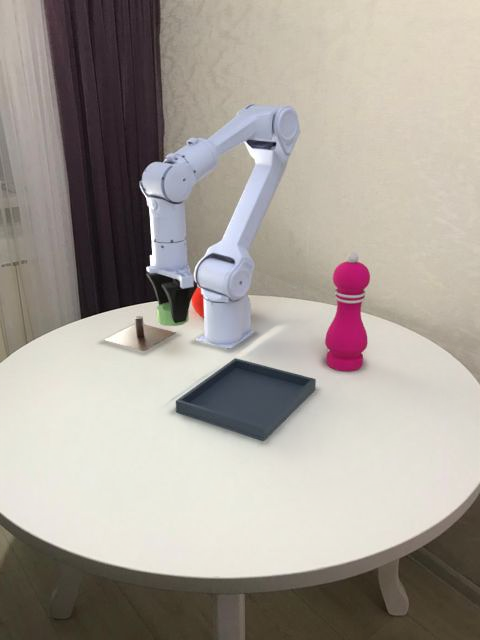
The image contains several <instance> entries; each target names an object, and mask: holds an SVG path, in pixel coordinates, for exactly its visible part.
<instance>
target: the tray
mask: <svg viewBox="0 0 480 640" xmlns="http://www.w3.org/2000/svg"><path fill="white" fill-rule="evenodd" d="M316 382H317V379H316V378H313V377H310V376H306V375H302V374H297V373H294V372H290V371H286V370H283V369H280V368H279V369H278V368H275V367H271V366H267V365H264V364H259V363H255V362H252V361H247V360H244V359H240V358H237V357H235V358H233V359H232V360H230V361H229V362H228V363H226V364H225V365H224V366H222V367H220V368H219V369H217V370H216V371H215V372H213V373H212V374H211V375H210V376H208V377H207V378H205V379H204V380H203V381H201V382H200V383H198V384H197V385H196V386H194V387H193V388H191V389H190V390H188V391H187V392H186V393H184V394H183V395H182V396H180V397H178V399H176V400H175V412H176V413H177V414H181V415H183V416H187V417H190V418H193V419H196V420H199V421H202V422H205V423H208V424H210V425H214V426H217V427H220V428H223V429H226V430H229V431H232V432H235V433H238V434H241V435H245V436H248V437H251V438H253V439H256V440H259V441H262V442H265V440H266V439H268V437H269V436H271V435H272V434H273V433H274V432H275V430H277V429H278V428H279V427H280V426H281V425H282V423H284V422H285V421H286V420H287V419H288V418H289V417H290V416H291V415H292V414H293V413H294V411H296V410H297V409H298V408H299V407H300V406H301V405H302V404H303V403H304V402H305V401H306V400H307V399H308V397H310V396H311V395H312V394H313V393H314V392H315V391H316Z"/></svg>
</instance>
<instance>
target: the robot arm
mask: <svg viewBox="0 0 480 640" xmlns="http://www.w3.org/2000/svg"><path fill="white" fill-rule="evenodd" d="M300 134H301V129H300V121H299V116H298V113H297V110H295V108H294V107H293V106H291V105H287V104H285V105H262V104H261V105H258V104H255V103H249V104H247V105H245V106H244V107H243V108H241V109H238V110H237V111H236V114H235V116H234V117H233V118H232V119H231V120H229V121H228V122H227V123H226V124H224V125H223V126H222V127H221V128H219V129H218V130H217V131H216V132H215V133H213V134H212V135H211V136H209V137H208V138H207V139H206V138H203V137H189V138H188V139H187V140H186V144H185V145H184V146H183V147H182V148H180V149H179V150H177V151H175V152H174V153H172V152H169V153H168V154H166V156H165V159H164V160H163V162H161V161H154V162H152V163H150V164H148V165H147V167H146V168H145V169H144V171H143V172H142V175H141V180H140V181H138V182H139V188H140V191H141V192H142V194H143V195H144V196H145V198H146V206H147V207H148V210H149V223H150V237H151V251H152V252H151V253H152V254H150V255H149V262H150V263H149V264H150V265H149V266H146V276H147V278H148V280H149V281H150V283H151V285H152V287H153V290H154V293H155V297H156V300H157V303H158V305H161V304H163V303H168V302H169V304H170V309H171V315H172V319H173V321H174V323H179V322H184V321H186V319H187V315H188V310H189V309H190V305H191V302H192V301H191V299H192V296H193V294H194V292H195V290H196V289H197V286H198V287H199V288H201V294H203V296H204V317H203V321H204V322H203V325H204V326H203V327H204V333H203V334H201V335H200V336H198V337H197V338H195V341H198V342H201V343H205V344H209V345H213V346H217V347H221V348H226V349H233V348H234V347H235V346H237V345H238V344H240V343H241V342H242V341H244V340H245V339H247V338H248V337H249V336H251V335H253V334H254V333H255V332H256V331H255V330H252V303H251V299H250V297H249V295H248V294H247V293H248V292H249V290H250V287H251V284H252V276H253V273H254V271H255V268H256V265H255V262H254V260H253V259H252V257H251V255H250V250H251V248H252V246H253V244H254V241H255V239H256V237H257V235H258V232H259V231H260V228H261V225H262V223H263V221H264V219H265V216H266V215H267V212H268V209H269V207H270V205H271V203H272V200H273V198H274V197H275V194H276V192H277V190H278V187H279V185H280V183H281V181H282V179H283V176H284V173H285V171H286V169H287V166H288V162H289V158H290V156H291V154H292V152H293V150H294V148H295V145H296V143H297V141H298V138H299V136H300ZM242 144H245V145H244V146H245V147H246V149H247V152H248V153H249V156H250V157H251V158H253V159H254V163H255V165H254V167H253V169H252V171H251V174H250V176H249V178H248V179H247V183H246V185H245V187H244V189H243V192H242V194H241V195H240V198H239V201H238V202H237V205H236V207H235V209H234V212H233V214H232V216H231V217H230V218H231V219H230V221H229V223H228V225H227V227H226V229H225V232H224V233H223V236H222V239H221V240H220V241H219V242H216V243H215V244H213V245H211V246H209V247H208V248H207V250H206V252H205V254H204V255H203V256H202V258H201V259H200V260H199V261H198V262H197V264H196V265H195V268H194V272H193V274H192V272H191V269H190V264H189V263H188V247H187V246H188V245H187V225H186V224H187V222H186V200H188V198H189V197H190V195H191V193H192V190H193V187H194V186H196V184H197V183H198V182H200V181H201V180H202V179H204V178H206V176H208V175H209V174H211V173H212V172H213V171H215V170H216V169H217V167H218V165H219V158H221V157H222V156H224V155H226V154H227V153H229V152H231V151H232V150H234V149H235V148H237V147H239V146H240V145H242ZM194 280H195V281H194ZM189 311H190V310H189Z"/></svg>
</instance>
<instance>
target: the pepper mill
mask: <svg viewBox="0 0 480 640" xmlns="http://www.w3.org/2000/svg"><path fill="white" fill-rule="evenodd" d="M359 259H360V258H359V255H358V253H356V252H350V253H349V254H348V255H347V261H344V262H342V263H339V264H338V265H337V266H336V268H334V271H333V274H332V282H333V284H334V286H335V287H336V289H335V290H334V293H335V294H334V299H335V300H336V312H335V315H334V318H333V319H332V321H331V322H330V323H331V324H330V325H329V327H328V329H327V331H326V334H325V339H324V344H325V346H326V348H327V350H328V351H327V353H326V364H327V366H328V367H330V368H331V369H333V370H336V371H341V372H353V371H358V370H359V369H361V368H362V367H363V365H364V355H363V352H364V351H366V349H367V347H368V333H367V330H366V327H365V325H364V322H363V320H362V304H363V302H365V300H366V297H365V296H366V294H367V293H366V291H365V289H366V288H367V287H368V286H369V284H370V281H371V273H370V270H369V268H368V267H367V266H366V265H365V264H364V263H362V262H359Z"/></svg>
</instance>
